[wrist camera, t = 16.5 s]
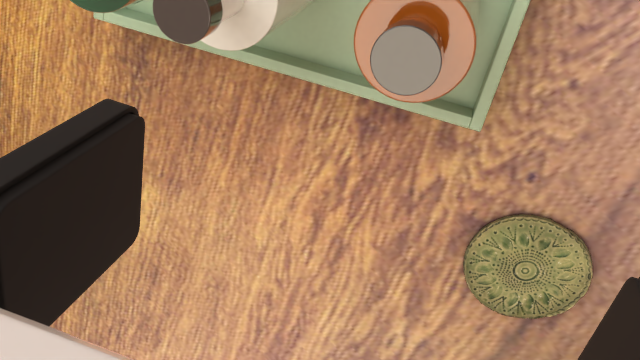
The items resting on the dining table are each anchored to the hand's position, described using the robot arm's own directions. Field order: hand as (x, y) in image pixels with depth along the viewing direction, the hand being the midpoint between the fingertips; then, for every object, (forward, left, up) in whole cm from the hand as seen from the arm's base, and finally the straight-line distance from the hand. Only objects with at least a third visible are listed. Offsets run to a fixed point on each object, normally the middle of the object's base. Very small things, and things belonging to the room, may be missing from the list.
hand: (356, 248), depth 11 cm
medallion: (-10, +15, -25) cm, 31 cm away
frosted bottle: (+9, 0, -24) cm, 26 cm away
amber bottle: (+1, 0, -24) cm, 24 cm away
